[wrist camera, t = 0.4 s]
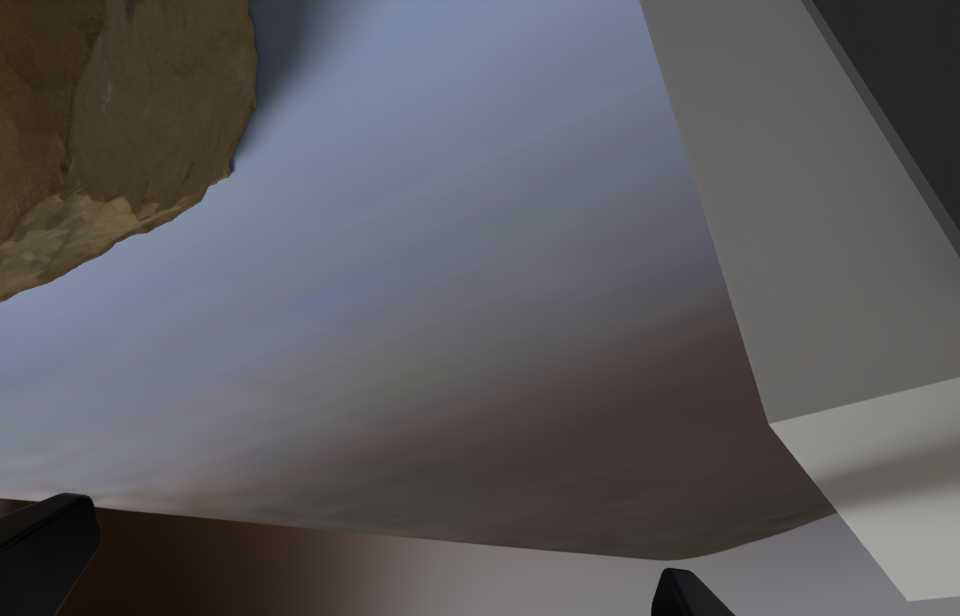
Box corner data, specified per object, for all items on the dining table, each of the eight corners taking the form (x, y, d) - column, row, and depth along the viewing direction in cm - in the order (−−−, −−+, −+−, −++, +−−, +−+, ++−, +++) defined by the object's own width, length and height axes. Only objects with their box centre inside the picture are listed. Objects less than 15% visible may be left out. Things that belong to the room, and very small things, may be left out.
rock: (-58, -498, 8) (-292, -31, 12) (171, 12, 7) (-161, 350, 11) (371, -88, 18) (169, 100, 22) (494, 155, 17) (260, 309, 21)
